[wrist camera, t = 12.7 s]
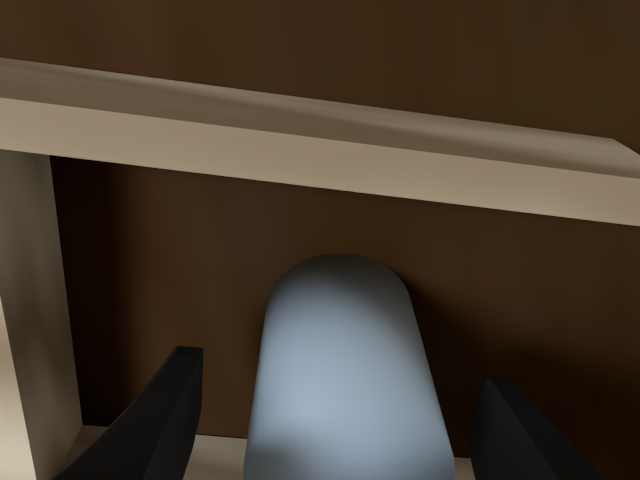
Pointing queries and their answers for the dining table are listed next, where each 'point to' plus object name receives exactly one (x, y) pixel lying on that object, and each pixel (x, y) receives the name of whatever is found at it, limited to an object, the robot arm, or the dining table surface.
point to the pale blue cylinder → (344, 380)
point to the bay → (242, 162)
